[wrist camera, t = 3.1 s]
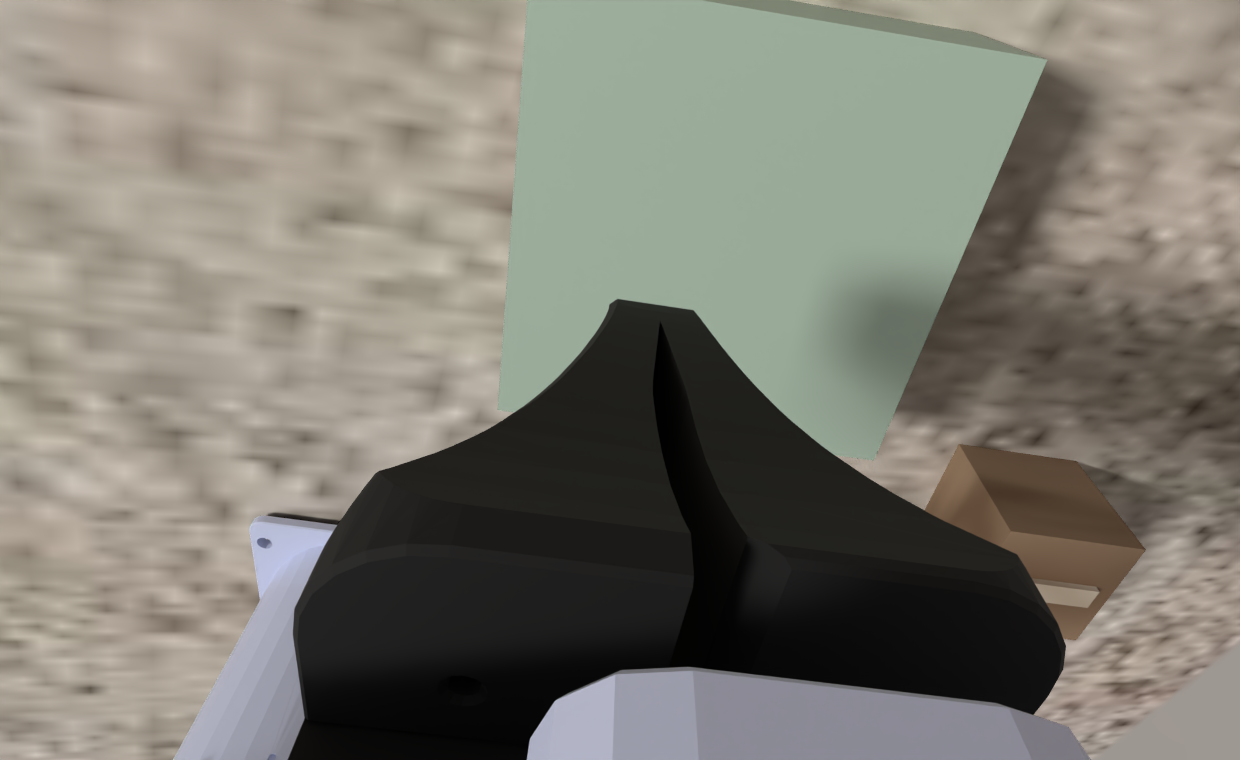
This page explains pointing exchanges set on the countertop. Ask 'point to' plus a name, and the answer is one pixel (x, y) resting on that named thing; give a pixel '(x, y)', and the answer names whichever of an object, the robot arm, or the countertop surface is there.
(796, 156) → the sage block
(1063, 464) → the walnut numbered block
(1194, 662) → the countertop surface
